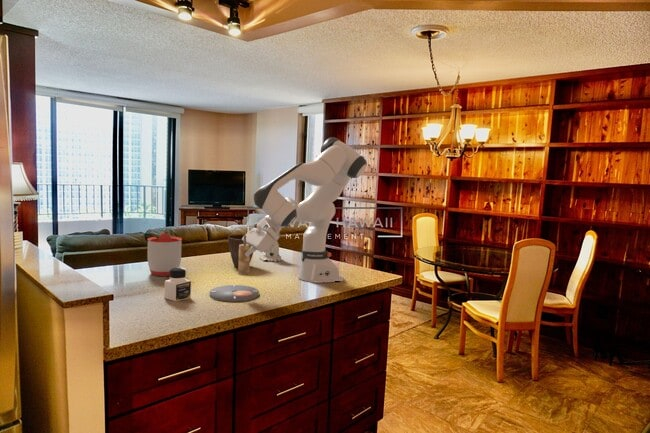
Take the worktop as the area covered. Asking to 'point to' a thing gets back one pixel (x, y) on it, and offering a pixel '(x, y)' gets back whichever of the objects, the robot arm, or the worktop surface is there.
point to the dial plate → (234, 293)
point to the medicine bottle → (177, 285)
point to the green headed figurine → (272, 252)
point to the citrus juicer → (164, 254)
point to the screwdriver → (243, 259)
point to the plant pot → (236, 248)
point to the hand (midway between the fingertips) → (243, 254)
